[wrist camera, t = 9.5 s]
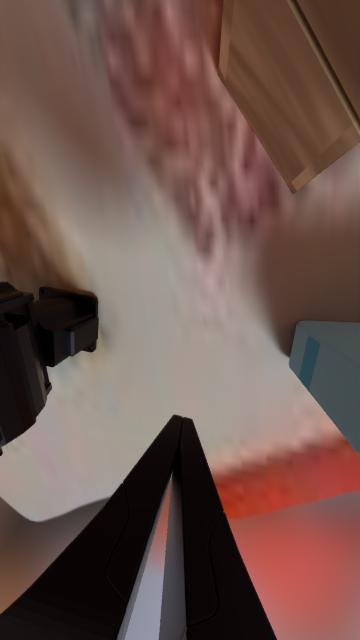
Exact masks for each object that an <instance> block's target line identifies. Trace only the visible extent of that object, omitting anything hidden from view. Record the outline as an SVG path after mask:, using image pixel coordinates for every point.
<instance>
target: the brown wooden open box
mask: <svg viewBox="0 0 360 640" xmlns="http://www.w3.org/2000/svg"><path fill="white" fill-rule="evenodd" d="M219 77H220V79H221V80H222V82H223V83H224V85H225V87H226V88H227V90H228V91H229V93H230V94H231V96H232V98H233V99H234V101H235V102H236V104H237V106H238V107H239V109H240V110H241V112H242V114H243V115H244V117H245V118H246V120H247V121H248V123H249V125H250V126H251V128H252V129H253V131H254V133H255V134H256V136H257V137H258V139H259V141H260V142H261V144H262V145H263V147H264V148H265V150H266V152H267V153H268V155H269V156H270V158H271V160H272V161H273V163H274V164H275V166H276V168H277V169H278V171H279V172H280V174H281V175H282V177H283V179H284V180H285V182H286V183H287V185H288V187H289V188H290V190H291V191H292V193H293V194H294V193H295V192H296V191H298V190H299V189H300V188H302V187H303V186H304V185H305V184H307V183H308V182H309V181H311V180H312V179H313V178H314V177H316V176H317V175H318V174H319V173H321V172H322V171H323V170H325V169H326V168H327V167H328V166H330V165H331V164H332V163H334V162H335V161H336V160H337V159H339V158H340V157H341V156H343V155H344V154H345V153H346V152H348V151H349V150H350V149H351V148H353V147H354V146H355V145H357V144H358V143H359V142H360V118H359V116H358V115H357V113H356V111H355V109H354V107H353V105H352V103H351V101H350V99H349V98H348V96H347V94H346V92H345V90H344V88H343V86H342V84H341V83H340V81H339V79H338V77H337V75H336V73H335V71H334V69H333V67H332V66H331V64H330V62H329V60H328V58H327V56H326V54H325V52H324V51H323V49H322V47H321V45H320V43H319V41H318V39H317V37H316V35H315V34H314V32H313V30H312V28H311V26H310V24H309V22H308V20H307V19H306V17H305V15H304V13H303V11H302V9H301V7H300V5H299V3H298V2H297V0H223V14H222V29H221V44H220V59H219Z"/></svg>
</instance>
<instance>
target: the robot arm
mask: <svg viewBox="0 0 360 640" xmlns="http://www.w3.org/2000/svg"><path fill="white" fill-rule="evenodd" d="M44 290H45V292H44ZM33 300H34V296H33V293H25V292H21V291H17V289H15V288H14V287H13V286H12V285H11V284H10V283H8V282H0V456H1V455H2V454H3V452H2V449H1V447H2V446H4V445H6V444H8V443H9V442H11V441H12V440H14V439H15V438H17V437H19V436H20V435H22V434H23V433H24V432H26V431H27V430H28V429H29V428H30V427H31V426H33V425H34V424H35V422H36V417H37V416H38V415H39V413H40V412H41V410H42V409H43V408H44V406H45V404H46V400H47V395H48V394H49V392H50V391H51V389H52V385H51V382H49V378H48V373H47V368H46V366H49V367H54V366H56V365H57V364H59V363H60V362H62V361H63V360H64V359H66V358H67V357H69V356H74V355H76V354H77V353H78V352H80V351H81V350H82V351H87V352H93V351H95V350H96V341H97V339H98V321H99V319H98V300H97V298H95V297H92V296H88V295H83V294H78V293H74V292H69V291H64V290H60V289H55V288H50V287H40V288H39V300H37V301H33ZM92 300H93V301H94V304H93V303H92ZM90 347H92V349H91V348H90ZM171 474H172V477H171ZM170 478H171V490H170V502H169V515H168V528H167V541H166V554H165V567H164V580H163V595H162V606H161V619H160V632H159V640H277V638H276V636H275V634H274V631H273V629H272V627H271V625H270V622H269V620H268V618H267V615H266V613H265V611H264V608H263V606H262V604H261V602H260V599H259V597H258V595H257V592H256V590H255V588H254V586H253V583H252V581H251V579H250V576H249V574H248V571H247V569H246V567H245V564H244V562H243V560H242V557H241V555H240V553H239V550H238V547H237V544H236V542H235V539H234V537H233V534H232V531H231V529H230V525H229V523H228V520H227V517H226V514H225V513H224V509H223V506H222V503H221V500H220V497H219V494H218V491H217V488H216V486H215V483H214V480H213V477H212V474H211V471H210V468H209V466H208V463H207V460H206V457H205V454H204V451H203V448H202V445H201V443H200V440H199V437H198V434H197V431H196V428H195V425H194V423H193V420H192V419H190V418H187V417H183V418H182V416H179V415H173V416H172V417H171V419H170V420H169V421H168V423H167V424H166V425H165V427H164V428H163V429H162V431H161V432H160V433H159V434H158V436H157V437H156V438H155V440H154V441H153V442H152V444H151V445H150V446H149V448H148V449H147V450H146V452H145V453H144V454H143V456H142V457H141V458H140V460H139V461H138V462H137V464H136V465H135V466H134V467H133V469H132V470H131V471H130V473H129V474H128V475H127V477H126V478H125V479H124V481H123V483H121V484H120V486H119V487H118V488H117V490H116V491H115V492H114V494H113V495H112V496H111V497H110V499H109V500H108V501H107V502H106V504H105V505H104V506H103V507H102V509H101V510H100V511H99V512H98V513H97V514H96V516H95V517H94V518H93V519H92V520H91V521H90V522H89V524H88V525H87V526H86V527H85V528H84V529H83V530H82V531H81V533H80V534H78V536H77V537H76V538H75V539H74V540H73V541H72V542H71V543H70V544H69V545H68V546H67V547H66V549H65V550H64V551H63V552H62V553H61V554H60V555H59V556H58V557H57V558H56V559H55V560H54V561H53V562H52V564H51V565H50V566H49V567H48V568H47V569H46V570H45V571H44V572H43V573H42V574H41V575H40V577H39V578H38V579H37V580H36V581H35V582H34V583H33V584H32V585H31V586H30V587H29V588H28V589H27V590H26V591H25V592H24V593H23V594H22V595H21V596H20V597H19V598H18V599H17V600H16V601H14V602H13V603H12V604H11V605H10V606H9V607H8V608H7V609H5V610H4V611H3V612H2V613H1V614H0V640H124V639H125V635H126V632H127V628H128V624H129V621H130V618H131V614H132V611H133V607H134V603H135V600H136V597H137V593H138V590H139V586H140V583H141V579H142V576H143V573H144V569H145V566H146V562H147V558H148V555H149V552H150V548H151V545H152V541H153V538H154V534H155V530H156V527H157V524H158V520H159V517H160V513H161V510H162V506H163V503H164V499H165V496H166V493H167V489H168V485H169V482H170Z"/></svg>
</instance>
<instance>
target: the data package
mask: <svg viewBox="0 0 360 640" xmlns="http://www.w3.org/2000/svg"><path fill="white" fill-rule="evenodd" d="M289 366H290V368H291V370H292V371H293V372H294V373H295V375H296V376H297V377H298V378H299V380H300V381H301V382H302V383H303V385H304V386H305V387H306V388H307V390H308V391H309V392H310V393H311V395H312V396H313V397H314V399H315V400H316V401H317V402H318V404H319V405H320V406H321V407H322V409H323V410H324V411H325V412H326V414H327V415H328V416H329V417H330V419H331V420H332V421H333V423H334V424H335V425H336V426H337V428H338V429H339V430H340V431H341V433H342V434H343V435H344V436H345V438H346V439H347V440H348V441H349V443H350V444H351V445H352V446H353V448H354V449H355V450H356V452H357V453H358V454H359V455H360V322H338V321H313V320H305V321H300V322H298V323H297V325H296V330H295V335H294V340H293V345H292V350H291V355H290V360H289Z"/></svg>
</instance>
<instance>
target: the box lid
mask: <svg viewBox="0 0 360 640" xmlns="http://www.w3.org/2000/svg"><path fill="white" fill-rule="evenodd" d="M297 2H298V3H299V5H300V7H301V9H302V11H303V13H304V15H305V17H306V19H307V20H308V22H309V24H310V26H311V28H312V30H313V32H314V34H315V35H316V37H317V39H318V41H319V43H320V45H321V47H322V49H323V51H324V52H325V54H326V56H327V58H328V60H329V62H330V64H331V66H332V67H333V69H334V71H335V73H336V75H337V77H338V79H339V81H340V83H341V84H342V86H343V88H344V90H345V92H346V94H347V96H348V98H349V99H350V101H351V103H352V105H353V107H354V109H355V111H356V113H357V115H358V116H359V118H360V0H297Z"/></svg>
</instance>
